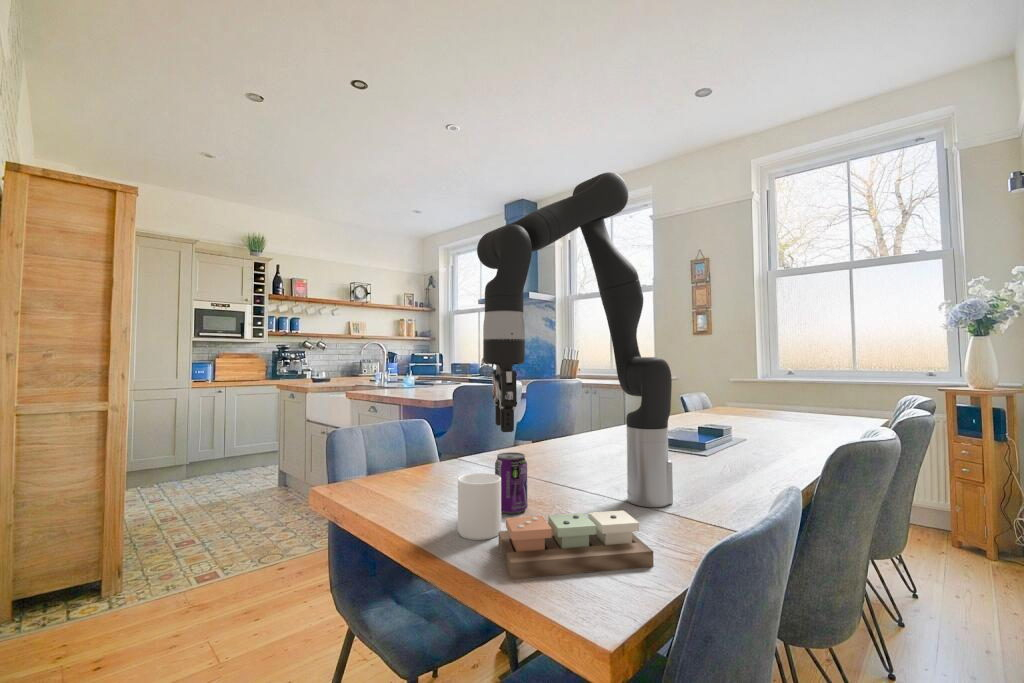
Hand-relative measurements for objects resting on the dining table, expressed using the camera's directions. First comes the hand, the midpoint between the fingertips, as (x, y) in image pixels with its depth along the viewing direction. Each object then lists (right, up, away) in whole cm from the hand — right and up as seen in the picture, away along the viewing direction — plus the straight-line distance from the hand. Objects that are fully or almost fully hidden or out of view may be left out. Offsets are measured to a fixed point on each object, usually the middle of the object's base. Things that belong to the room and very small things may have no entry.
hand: (504, 428), depth 84 cm
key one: (+19, -19, -4) cm, 27 cm away
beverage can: (+1, -22, +19) cm, 28 cm away
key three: (+4, -19, -6) cm, 20 cm away
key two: (+11, -19, -5) cm, 22 cm away
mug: (-5, -21, +7) cm, 23 cm away
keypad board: (+11, -20, -5) cm, 24 cm away
